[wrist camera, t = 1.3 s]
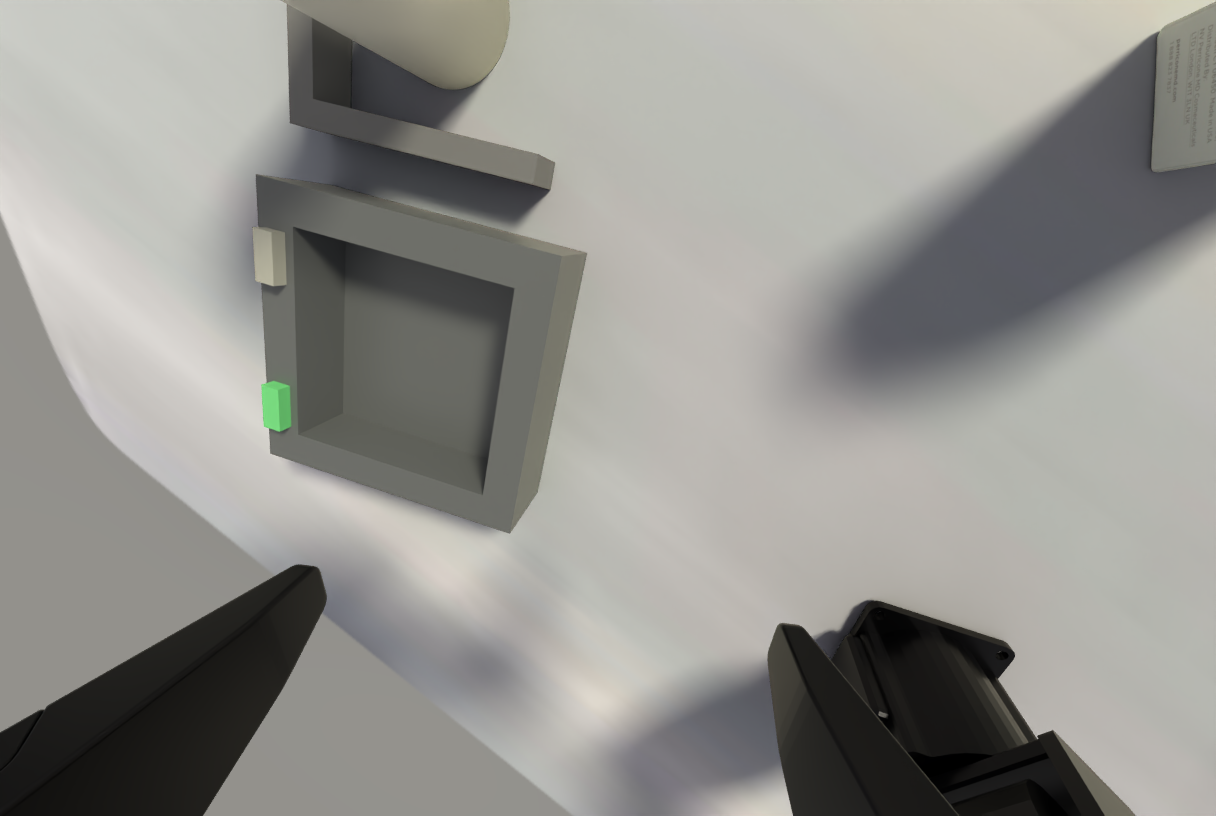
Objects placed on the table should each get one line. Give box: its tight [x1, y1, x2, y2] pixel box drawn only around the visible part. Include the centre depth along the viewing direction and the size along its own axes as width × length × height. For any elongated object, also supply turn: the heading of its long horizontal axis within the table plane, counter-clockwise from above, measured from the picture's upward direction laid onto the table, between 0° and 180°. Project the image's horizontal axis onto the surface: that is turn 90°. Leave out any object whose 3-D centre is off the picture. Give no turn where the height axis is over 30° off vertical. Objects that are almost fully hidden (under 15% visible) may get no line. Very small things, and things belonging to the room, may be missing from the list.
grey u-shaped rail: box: [287, 4, 555, 190], centre depth 16 cm, size 10×10×2 cm
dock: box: [252, 174, 587, 534], centre depth 20 cm, size 12×12×4 cm
